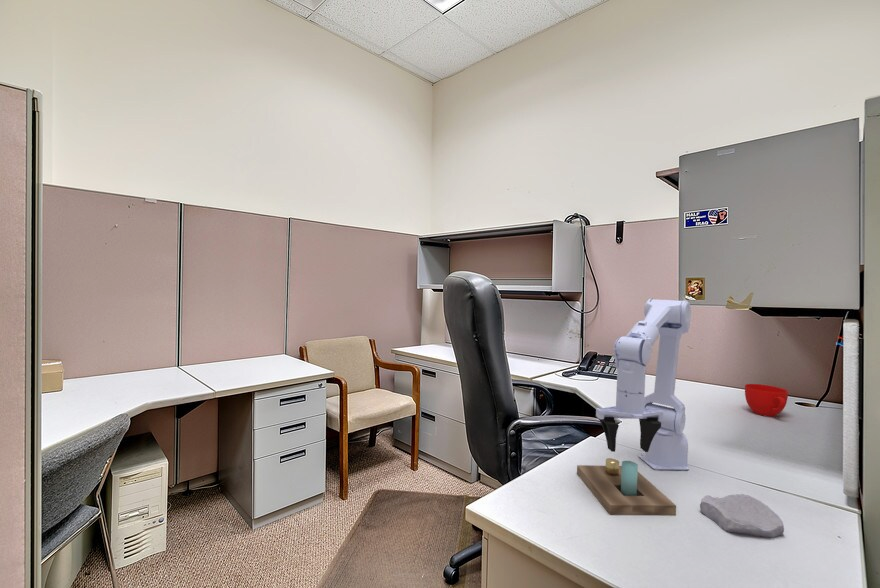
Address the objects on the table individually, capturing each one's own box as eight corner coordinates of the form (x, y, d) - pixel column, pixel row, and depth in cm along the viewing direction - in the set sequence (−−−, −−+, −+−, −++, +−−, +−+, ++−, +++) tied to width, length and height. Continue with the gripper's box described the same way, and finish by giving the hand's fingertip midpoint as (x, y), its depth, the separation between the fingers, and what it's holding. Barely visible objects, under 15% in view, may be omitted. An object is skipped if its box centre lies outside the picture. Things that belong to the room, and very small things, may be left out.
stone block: (789, 546, 78) (747, 507, 88) (794, 525, 77) (751, 488, 86) (730, 549, 77) (695, 510, 87) (735, 528, 76) (698, 491, 86)
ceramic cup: (762, 421, 146) (763, 394, 145) (736, 407, 162) (737, 382, 162) (802, 424, 144) (804, 397, 143) (772, 410, 160) (774, 385, 160)
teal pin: (631, 495, 91) (633, 460, 91) (639, 503, 88) (640, 467, 88) (617, 495, 91) (619, 460, 91) (624, 503, 88) (626, 467, 88)
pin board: (631, 473, 102) (632, 454, 102) (675, 515, 84) (677, 491, 84) (576, 473, 101) (577, 453, 101) (609, 514, 83) (610, 490, 83)
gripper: (607, 395, 86) (604, 457, 87) (672, 396, 87) (669, 458, 87) (593, 386, 93) (590, 444, 94) (654, 387, 94) (651, 444, 94)
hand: (627, 450), depth 91 cm, fingers open, 7 cm apart
